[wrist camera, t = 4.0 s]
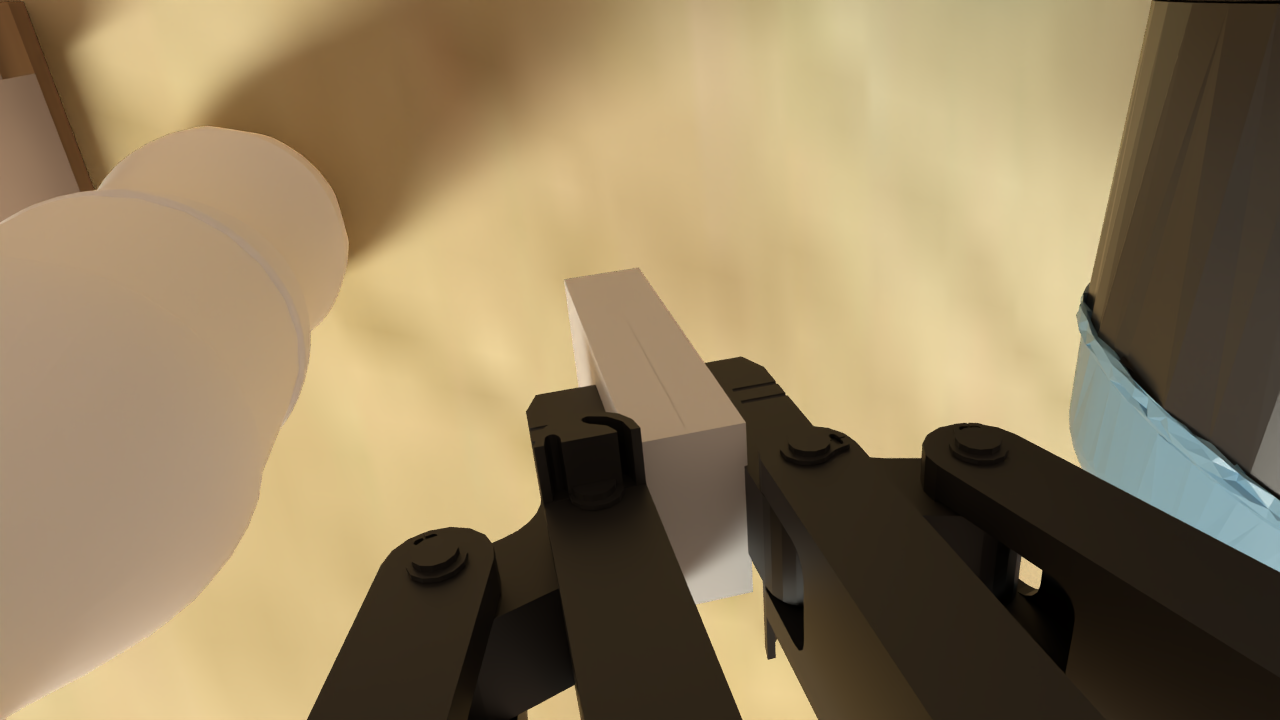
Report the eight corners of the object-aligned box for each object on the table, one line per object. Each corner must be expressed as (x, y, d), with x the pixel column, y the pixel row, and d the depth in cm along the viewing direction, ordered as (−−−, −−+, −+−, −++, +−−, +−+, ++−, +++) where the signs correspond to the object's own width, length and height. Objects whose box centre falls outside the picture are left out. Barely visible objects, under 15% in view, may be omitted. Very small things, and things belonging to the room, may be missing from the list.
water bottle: (174, 74, 27) (-1276, 499, 4) (388, 174, 29) (176, 768, 7) (107, 266, 29) (-1144, 1255, 6) (313, 344, 31) (-43, 1243, 9)
